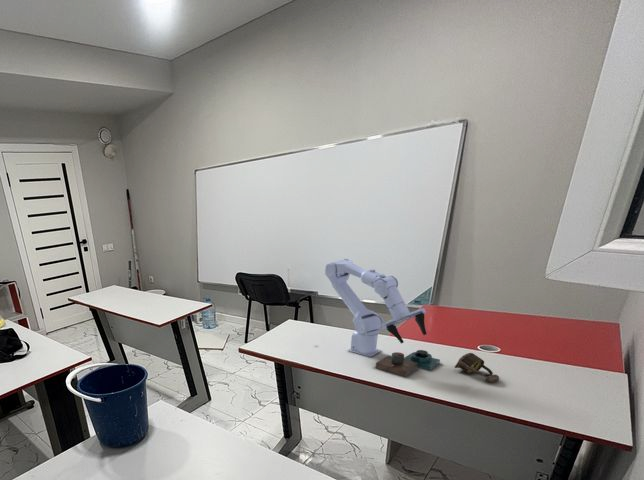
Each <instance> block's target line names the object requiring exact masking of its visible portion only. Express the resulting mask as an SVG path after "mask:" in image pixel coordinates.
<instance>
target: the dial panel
mask: <svg viewBox="0 0 644 480" xmlns="http://www.w3.org/2000/svg"><path fill="white" fill-rule="evenodd" d="M391 357H392V355H389V354H388V355H387V356H385V357H383V358H382V359H379V360H377V362H375V369H377V370H380V371H383V372H387V373H390V374H394V375H397V376H401V377H403V378H407V377H408V376H409V375H411V374H412V373H414V372H415V371H416V370H418V368H419V367H418V363H416V362H412V361H408V360H404V361H403V364H402V365H394V364H392V363H391Z"/></svg>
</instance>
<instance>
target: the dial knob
mask: <svg viewBox="0 0 644 480" xmlns="http://www.w3.org/2000/svg"><path fill="white" fill-rule="evenodd" d="M391 356H392V357H391V363H392V364H394V365H402V364H403V361H404V358H405V354H404V353H403V352H395V351H394V352H392V353H391Z"/></svg>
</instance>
